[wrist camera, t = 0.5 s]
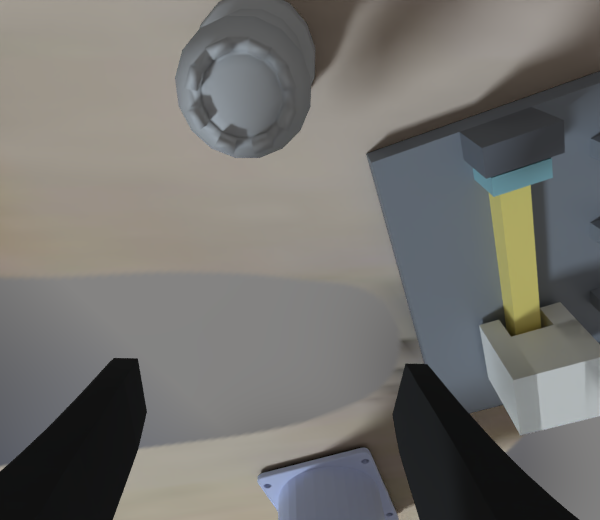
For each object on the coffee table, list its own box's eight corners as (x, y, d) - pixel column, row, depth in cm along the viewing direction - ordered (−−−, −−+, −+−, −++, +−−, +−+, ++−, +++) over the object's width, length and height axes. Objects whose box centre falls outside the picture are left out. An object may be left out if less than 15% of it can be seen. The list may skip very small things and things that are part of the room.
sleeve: (562, 357, 23) (607, 414, 20) (488, 377, 24) (520, 435, 21) (560, 301, 21) (609, 354, 18) (478, 325, 22) (513, 380, 19)
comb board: (601, 360, 26) (643, 406, 23) (435, 404, 27) (454, 453, 24) (608, 68, 17) (675, 81, 14) (366, 153, 18) (382, 182, 16)
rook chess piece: (181, 5, 15) (103, 6, 9) (304, -23, 15) (324, -42, 8) (216, 129, 18) (177, 208, 11) (323, 107, 17) (352, 175, 11)
